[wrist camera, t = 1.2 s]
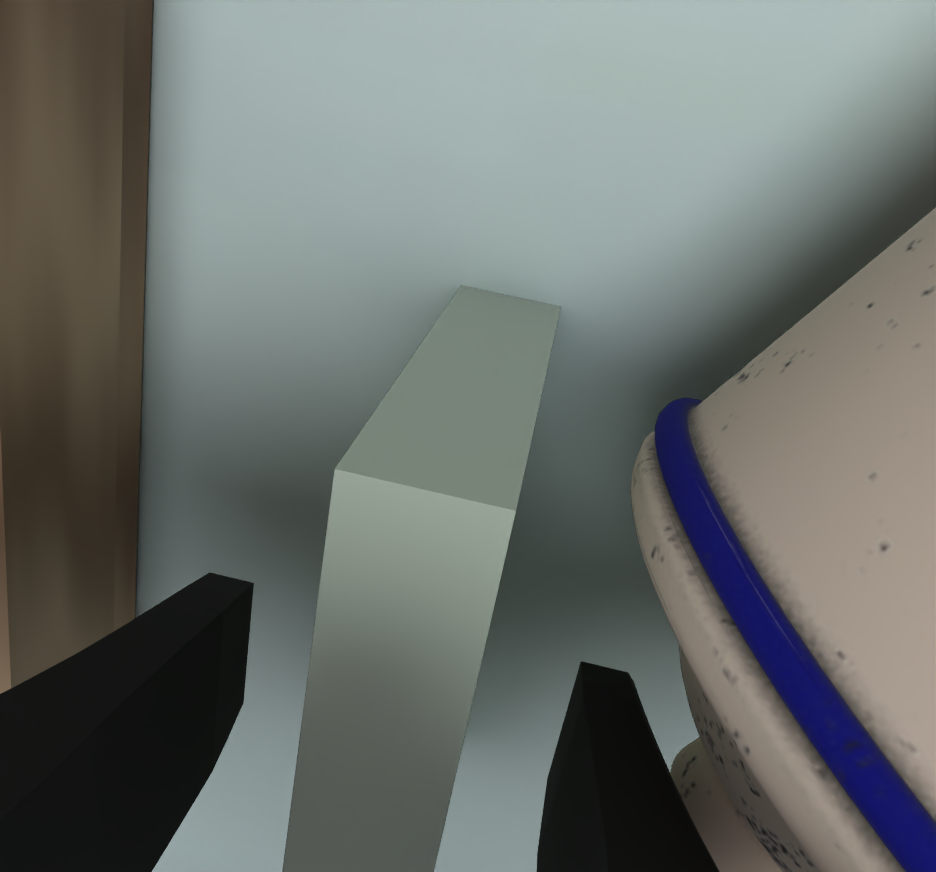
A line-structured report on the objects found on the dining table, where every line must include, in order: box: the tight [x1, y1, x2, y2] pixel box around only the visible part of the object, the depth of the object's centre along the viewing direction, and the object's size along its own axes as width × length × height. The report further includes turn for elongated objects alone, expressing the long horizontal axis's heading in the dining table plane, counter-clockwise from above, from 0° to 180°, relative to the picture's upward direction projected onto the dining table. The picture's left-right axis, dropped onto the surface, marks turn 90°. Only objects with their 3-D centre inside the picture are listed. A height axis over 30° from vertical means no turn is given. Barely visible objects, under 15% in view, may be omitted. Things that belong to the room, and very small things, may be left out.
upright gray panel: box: [282, 285, 561, 872], centre depth 13 cm, size 9×2×7 cm, turn 170°
